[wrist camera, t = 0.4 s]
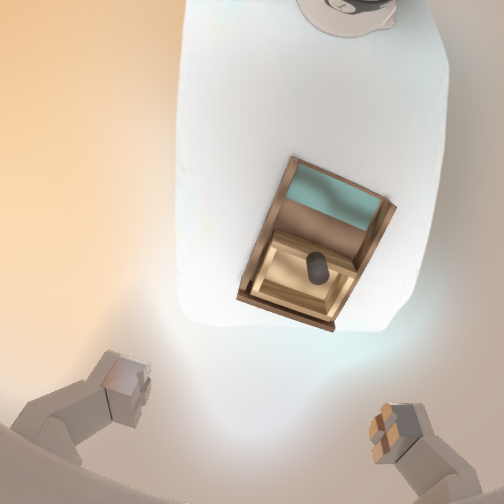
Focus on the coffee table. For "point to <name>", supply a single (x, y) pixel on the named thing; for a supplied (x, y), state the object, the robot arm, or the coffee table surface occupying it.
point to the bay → (320, 227)
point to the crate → (302, 275)
